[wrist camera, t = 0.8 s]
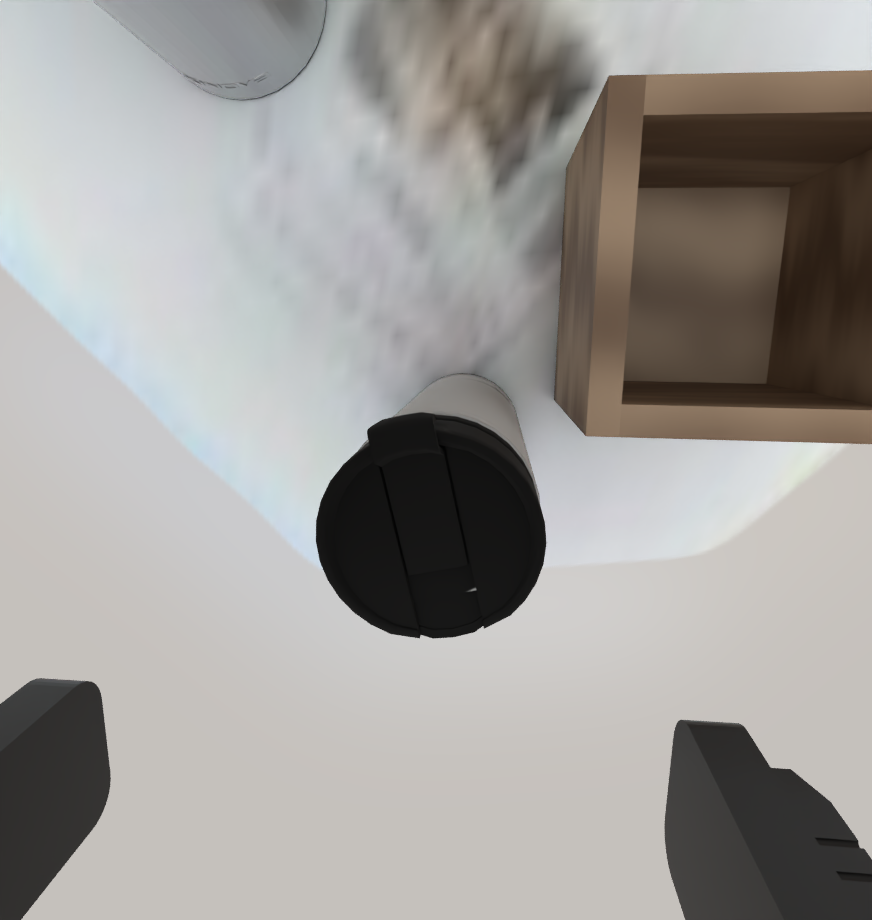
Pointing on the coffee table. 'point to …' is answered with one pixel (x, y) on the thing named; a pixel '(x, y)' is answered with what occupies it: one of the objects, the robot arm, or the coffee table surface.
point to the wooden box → (720, 259)
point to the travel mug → (436, 515)
